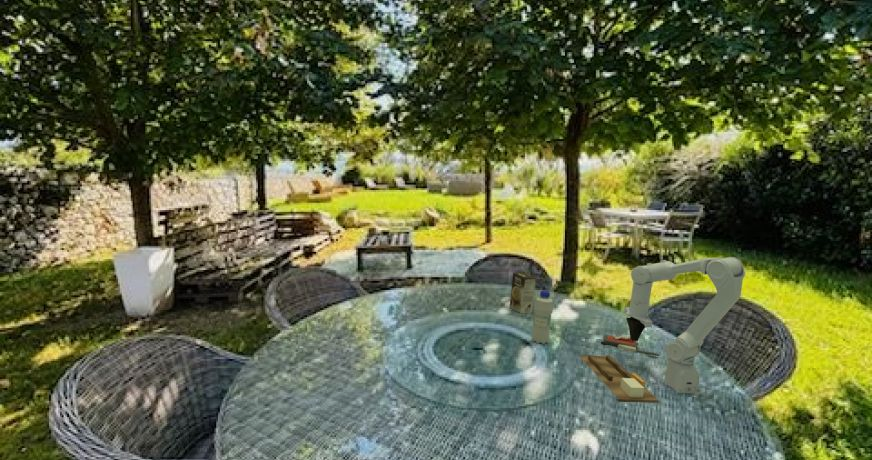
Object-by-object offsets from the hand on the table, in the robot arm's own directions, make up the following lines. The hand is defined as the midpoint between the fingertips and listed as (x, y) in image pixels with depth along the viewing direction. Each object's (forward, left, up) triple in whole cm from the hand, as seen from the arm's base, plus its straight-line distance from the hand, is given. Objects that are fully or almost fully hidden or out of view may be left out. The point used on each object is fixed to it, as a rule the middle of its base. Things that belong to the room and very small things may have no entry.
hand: (634, 340), depth 164 cm
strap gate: (-16, +7, -8) cm, 20 cm away
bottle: (+18, +26, -10) cm, 33 cm away
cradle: (-9, +10, -9) cm, 16 cm away
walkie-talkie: (+15, -7, -10) cm, 19 cm away
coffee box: (+55, +23, -10) cm, 61 cm away
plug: (-20, +10, -9) cm, 24 cm away
